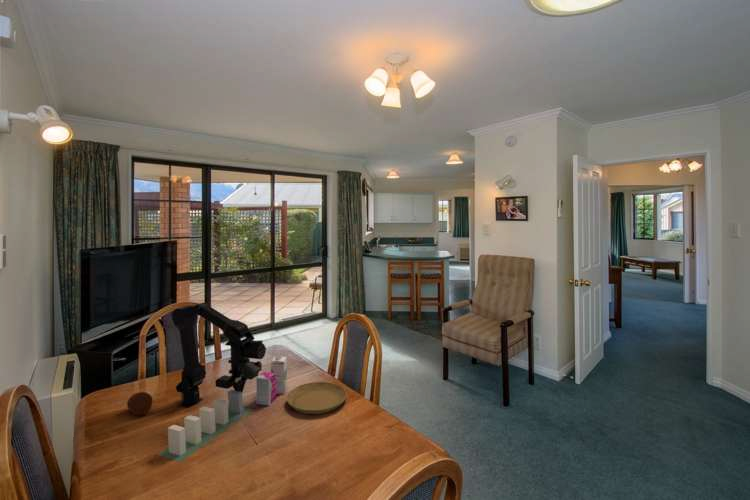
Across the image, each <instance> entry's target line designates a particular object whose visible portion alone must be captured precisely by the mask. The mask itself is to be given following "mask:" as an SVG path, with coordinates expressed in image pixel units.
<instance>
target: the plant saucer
mask: <svg viewBox="0 0 750 500" xmlns="http://www.w3.org/2000/svg"><path fill="white" fill-rule="evenodd" d="M346 397H347V390H346V389H345V387H343V386H342V385H340V384H337V383H333V382H326V381H315V382H309V383H304V384H301V385H298V386H296V387H295V388H292V389H291V390H290V391H289V392H288V393H287V395H286V401H287V404H288V405H289V407H291V408H292V409H293V410H295V411H297V412H299V413H302V414H306V415H321V414H326V413H328V412H331V411H333V410H336V409H337V408H338V407H340V406H341V405H342V404H343V403H344V401H345V400H346V399H347V398H346Z"/></svg>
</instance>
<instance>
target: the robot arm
mask: <svg viewBox="0 0 750 500" xmlns="http://www.w3.org/2000/svg"><path fill="white" fill-rule="evenodd" d="M197 315H198V316H200V317H201V318H203V319H205V320H206V321H207V322H209V323H211V324H212V325H213V326H215V327H217V328H218V329H220V330H221V331H222V333H223V335H224V336H225V337H226V339H228V341H227V342H225V343H224V345H225V346H230V359H228V360H227V361H228V362H227V363H229V364H230V369H229V370H228V374H230V375H222V376H220V377H217V379H215V381H214V382H215V387H217V388H219V389H220V388H222V389H231V388H233V390H235V391H240V392H242V393H243V392H244V389H245V385H246V383H247V381H248V380H253V379H254V378H257V377H258V376H259V375H260V374H259V373H260V372H262V370H263V369H262V367H263V365H262V362H261V361H260V360H262V359H264V357H265V355H266V352H267V347H266V345H265V344H264V343H263V340H261V339H259V340H255V337H254V335H253V334H252V332H251V331H250V329H249V326H248V324H246V323H244V322H242V321H239V320H237V319H236V320H234V319H231V318H229V317H228V316H226V315H224V314H223V313H221V312H220V311H218V310H216V309H214V308H213V307H211V306H210V305H209V304H208V303H207V302H200V303H197V304H194V305H184V306H181V307H178V308H175V309H174V310H172V312H171V318H172V323H173V325H174V326H175V327H176V328H177V329H178V331H179V337H180V343H181V349H182V357H183V363H184V365H183V368H182V371H181V380H180V382H178V384H177V385H176V386H175V389H176V392H177V393H180V396H181V400H180V401H179V402H178V403H177V405H178V406H182V407H186V408H191V407H192V406H194V405H197V404H198V403H200V402H201V401H203V398H202V397H200V394H201V393H200V387H199V386H200V385H202V384H203V382H204V380H205V379H206V375H207V371H206V365H205V364H201V362H200V361H199V357H198V351H197V350H198V349H197V344H196V337H195V331H194V327H195V323H196V321H197ZM251 359H253V360H254V359H255V360H257V361H251Z"/></svg>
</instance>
